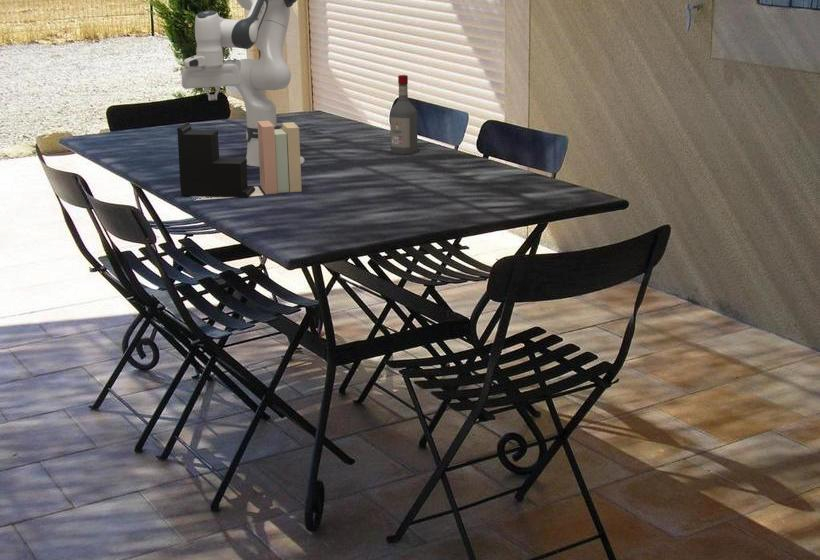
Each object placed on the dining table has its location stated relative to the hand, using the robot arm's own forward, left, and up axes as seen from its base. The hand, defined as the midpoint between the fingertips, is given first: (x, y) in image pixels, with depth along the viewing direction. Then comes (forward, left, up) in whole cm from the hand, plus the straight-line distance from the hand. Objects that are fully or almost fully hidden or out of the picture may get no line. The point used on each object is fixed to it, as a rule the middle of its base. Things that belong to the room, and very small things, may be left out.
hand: (212, 100), depth 420 cm
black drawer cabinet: (+2, +15, -30) cm, 33 cm away
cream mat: (-1, +15, -30) cm, 33 cm away
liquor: (-77, -34, -30) cm, 89 cm away
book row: (-20, +15, -30) cm, 39 cm away
